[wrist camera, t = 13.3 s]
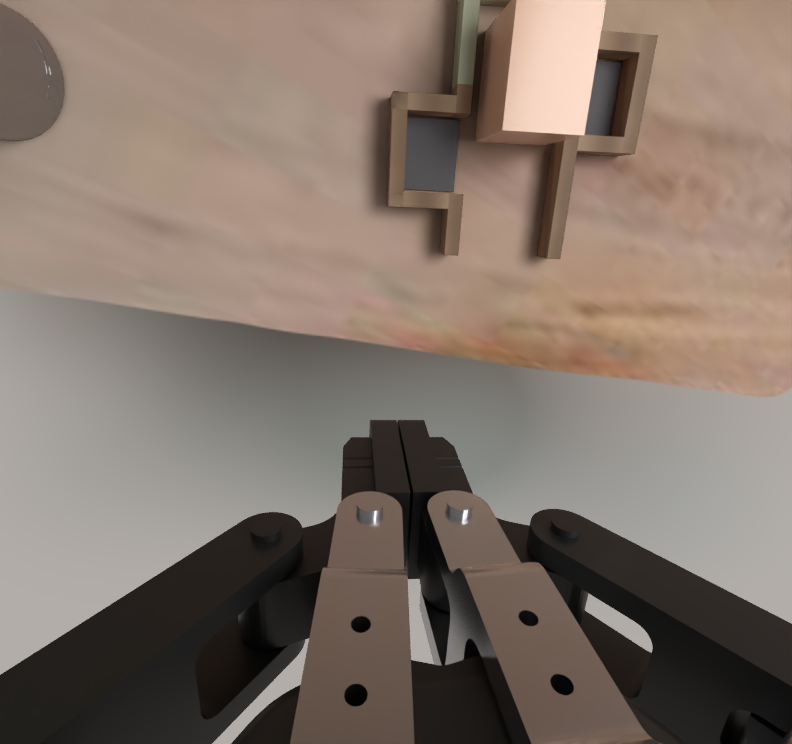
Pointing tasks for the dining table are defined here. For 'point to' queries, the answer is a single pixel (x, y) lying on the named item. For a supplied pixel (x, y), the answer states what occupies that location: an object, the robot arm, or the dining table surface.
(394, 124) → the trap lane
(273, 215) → the dining table surface
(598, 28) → the brick
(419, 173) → the mats
